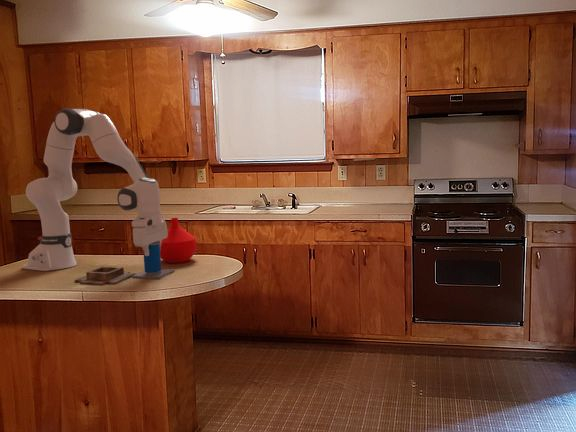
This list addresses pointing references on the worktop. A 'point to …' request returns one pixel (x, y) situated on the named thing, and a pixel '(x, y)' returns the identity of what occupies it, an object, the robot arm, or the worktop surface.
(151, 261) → the beverage can
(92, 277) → the socket
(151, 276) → the coaster
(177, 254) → the vase
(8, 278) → the worktop surface
